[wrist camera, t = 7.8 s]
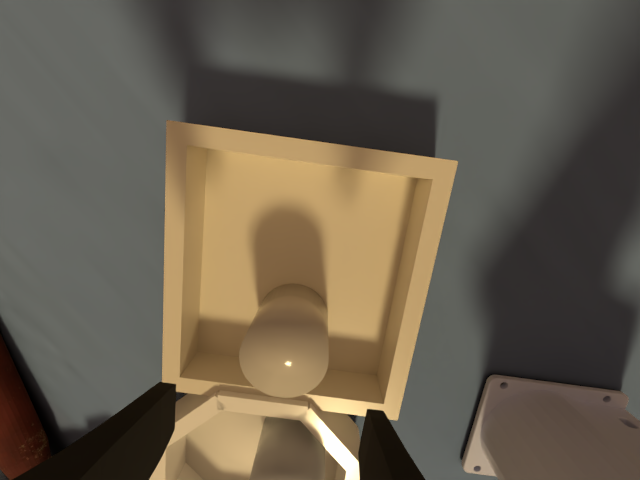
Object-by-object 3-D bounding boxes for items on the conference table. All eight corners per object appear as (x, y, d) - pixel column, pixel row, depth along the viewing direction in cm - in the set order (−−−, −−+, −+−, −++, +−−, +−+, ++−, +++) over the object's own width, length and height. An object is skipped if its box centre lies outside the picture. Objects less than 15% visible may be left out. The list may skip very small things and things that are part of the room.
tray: (434, 162, 17) (458, 161, 14) (386, 383, 21) (397, 420, 18) (195, 129, 17) (166, 120, 14) (186, 357, 20) (162, 389, 17)
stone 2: (329, 407, 20) (329, 472, 16) (320, 458, 21) (319, 532, 17) (265, 399, 20) (249, 462, 16) (260, 450, 21) (243, 523, 17)
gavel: (-195, 294, 17) (-40, 252, 16) (-83, 272, 21) (42, 238, 20) (-35, 585, 20) (101, 561, 19) (33, 512, 24) (145, 490, 24)
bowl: (366, 374, 20) (374, 415, 17) (338, 516, 23) (340, 575, 20) (179, 350, 20) (149, 386, 17) (174, 496, 23) (148, 552, 20)
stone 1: (332, 288, 18) (334, 324, 14) (322, 350, 19) (321, 403, 15) (262, 278, 18) (242, 312, 14) (256, 341, 19) (235, 391, 15)
